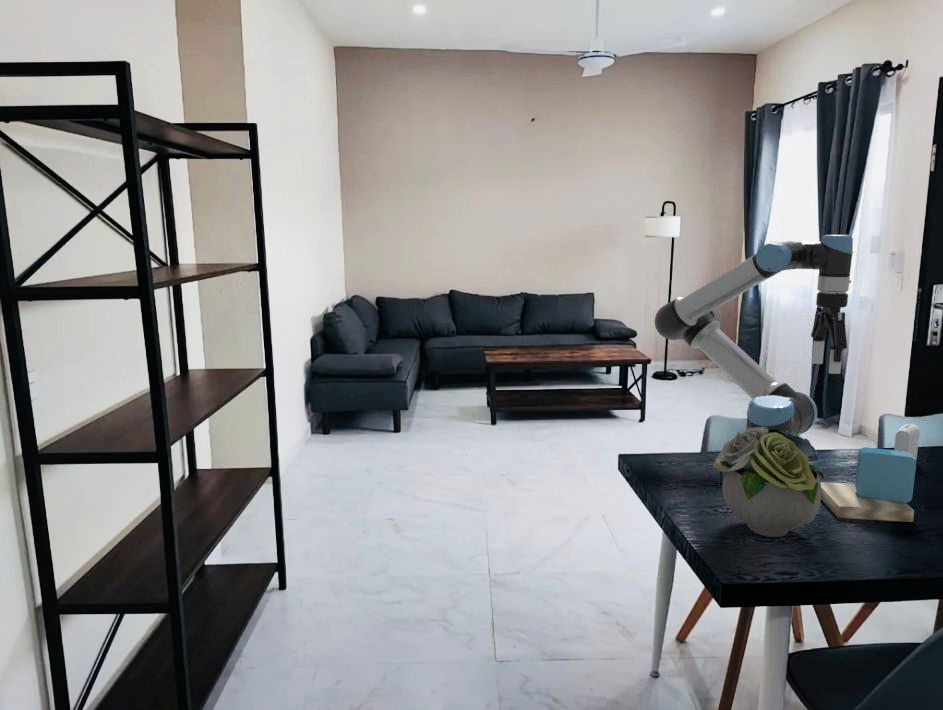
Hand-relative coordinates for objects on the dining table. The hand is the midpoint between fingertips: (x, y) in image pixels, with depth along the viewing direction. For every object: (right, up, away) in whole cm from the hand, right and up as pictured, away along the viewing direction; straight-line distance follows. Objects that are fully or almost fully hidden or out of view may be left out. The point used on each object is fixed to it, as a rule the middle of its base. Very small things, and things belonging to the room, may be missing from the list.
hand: (825, 368), depth 189 cm
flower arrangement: (-29, -38, -29) cm, 55 cm away
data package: (+6, -32, -17) cm, 37 cm away
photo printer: (+32, -29, +16) cm, 46 cm away
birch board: (+1, -35, -15) cm, 38 cm away
